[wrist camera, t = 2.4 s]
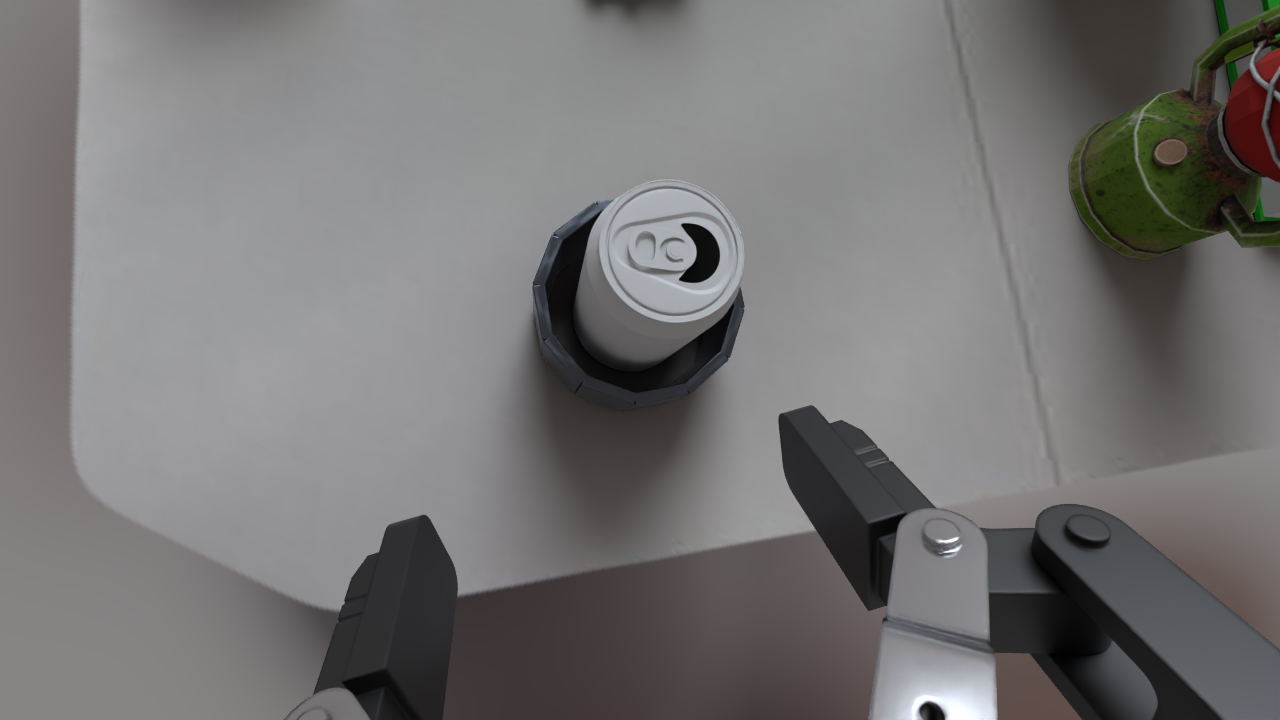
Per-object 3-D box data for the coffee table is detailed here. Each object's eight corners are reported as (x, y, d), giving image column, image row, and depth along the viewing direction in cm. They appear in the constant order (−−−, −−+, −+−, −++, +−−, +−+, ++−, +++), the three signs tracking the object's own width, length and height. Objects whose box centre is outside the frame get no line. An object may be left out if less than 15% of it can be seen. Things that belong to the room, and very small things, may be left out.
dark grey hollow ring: (617, 446, 32) (632, 446, 27) (497, 305, 32) (490, 279, 27) (747, 331, 34) (781, 312, 29) (635, 200, 34) (651, 159, 29)
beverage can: (678, 377, 33) (754, 338, 21) (567, 369, 32) (583, 324, 20) (682, 271, 34) (757, 180, 22) (575, 260, 33) (594, 158, 21)
